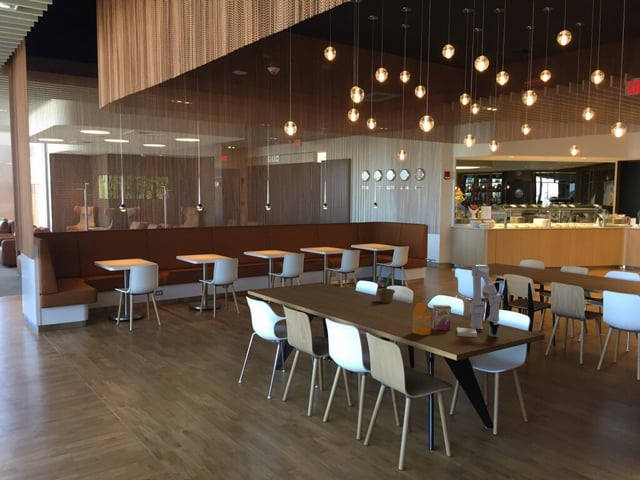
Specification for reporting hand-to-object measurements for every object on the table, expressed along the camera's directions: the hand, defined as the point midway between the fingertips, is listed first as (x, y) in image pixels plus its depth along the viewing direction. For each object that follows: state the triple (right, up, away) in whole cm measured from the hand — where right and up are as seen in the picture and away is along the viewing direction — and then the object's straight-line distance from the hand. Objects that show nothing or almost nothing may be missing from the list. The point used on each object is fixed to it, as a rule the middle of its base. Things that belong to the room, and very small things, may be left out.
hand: (493, 333), depth 340 cm
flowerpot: (-56, +7, +107) cm, 122 cm away
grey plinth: (-17, -2, +3) cm, 17 cm away
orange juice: (-46, -1, +3) cm, 47 cm away
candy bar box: (-31, 0, +14) cm, 34 cm away
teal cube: (0, -2, 0) cm, 2 cm away
